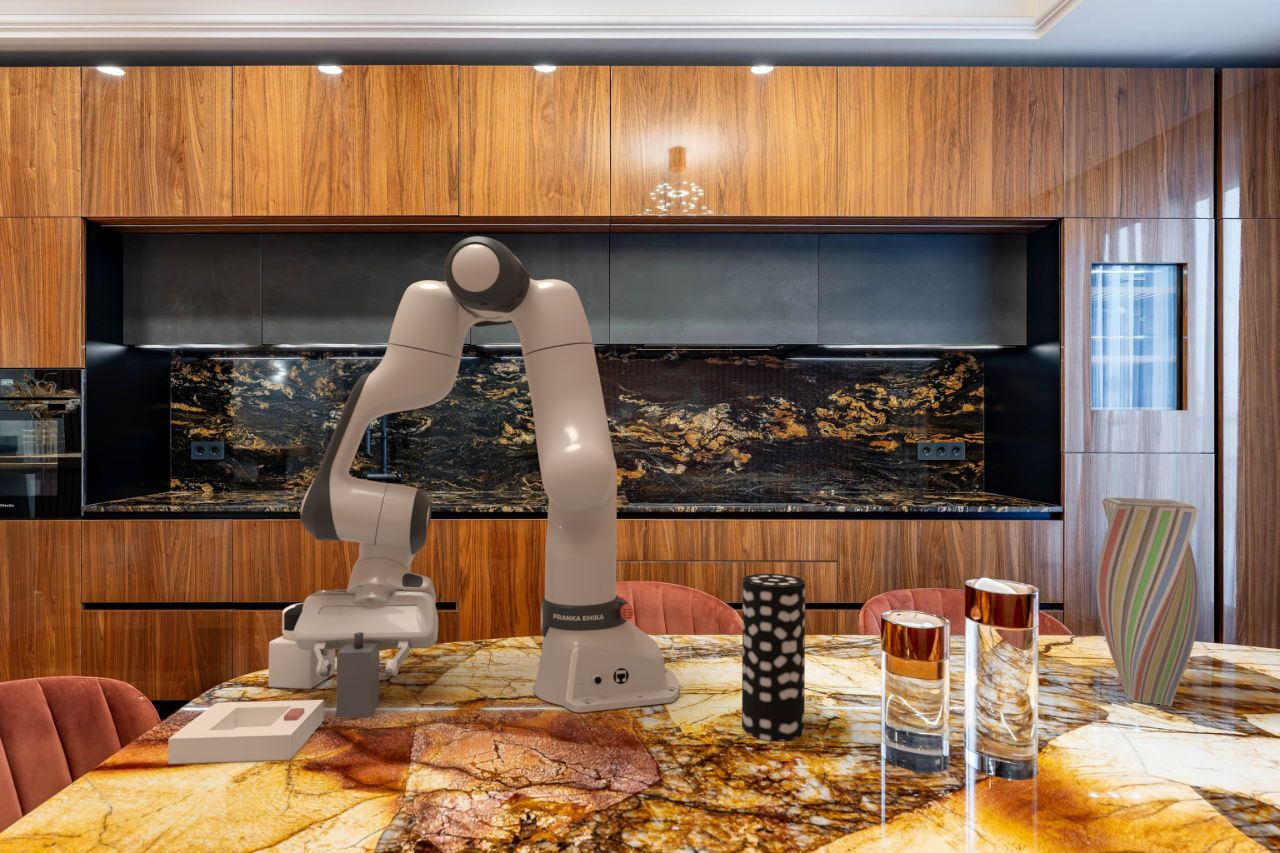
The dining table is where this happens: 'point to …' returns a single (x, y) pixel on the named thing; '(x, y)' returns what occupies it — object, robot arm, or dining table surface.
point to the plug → (357, 678)
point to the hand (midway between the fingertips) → (356, 674)
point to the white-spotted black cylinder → (773, 656)
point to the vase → (1148, 594)
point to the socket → (246, 732)
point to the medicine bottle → (294, 657)
